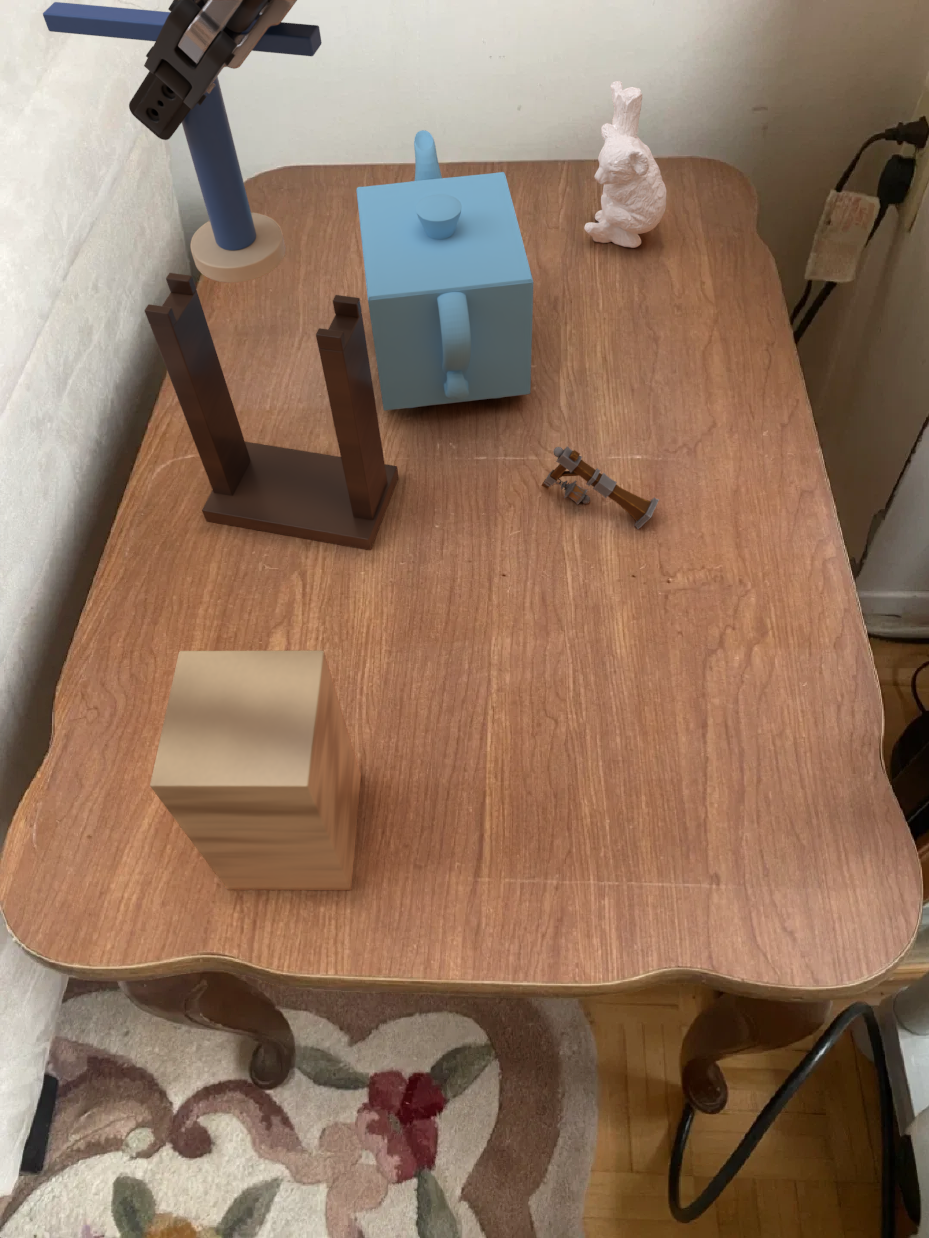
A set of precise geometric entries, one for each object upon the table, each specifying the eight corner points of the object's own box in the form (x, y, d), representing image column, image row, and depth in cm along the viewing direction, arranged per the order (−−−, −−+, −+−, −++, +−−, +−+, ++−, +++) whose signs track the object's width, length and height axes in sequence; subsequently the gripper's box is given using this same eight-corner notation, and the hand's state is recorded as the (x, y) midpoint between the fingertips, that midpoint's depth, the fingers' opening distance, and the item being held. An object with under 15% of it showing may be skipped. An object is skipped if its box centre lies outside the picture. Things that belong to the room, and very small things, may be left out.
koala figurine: (573, 211, 88) (582, 77, 78) (646, 204, 88) (664, 70, 78) (589, 268, 83) (601, 133, 73) (666, 261, 83) (688, 125, 73)
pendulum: (337, 299, 50) (294, 60, 40) (113, 267, 52) (20, 33, 42) (367, 242, 53) (334, 4, 43) (152, 214, 55) (74, -18, 45)
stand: (370, 550, 66) (334, 358, 52) (205, 521, 68) (128, 329, 54) (398, 477, 70) (371, 279, 56) (241, 451, 72) (177, 254, 58)
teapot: (535, 436, 72) (541, 280, 60) (388, 453, 71) (366, 299, 60) (494, 259, 84) (493, 101, 73) (369, 272, 84) (347, 116, 72)
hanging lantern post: (537, 467, 69) (564, 433, 65) (629, 527, 70) (661, 497, 66) (527, 484, 68) (554, 451, 64) (620, 545, 69) (652, 516, 65)
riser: (351, 890, 53) (308, 786, 41) (226, 889, 53) (148, 785, 42) (361, 774, 57) (324, 649, 45) (245, 774, 57) (178, 650, 46)
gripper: (350, -361, 36) (153, -22, 48) (208, -241, 29) (18, 124, 41) (489, -179, 40) (273, 94, 52) (395, -30, 32) (168, 248, 44)
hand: (161, 106), depth 46 cm, fingers closed on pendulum
